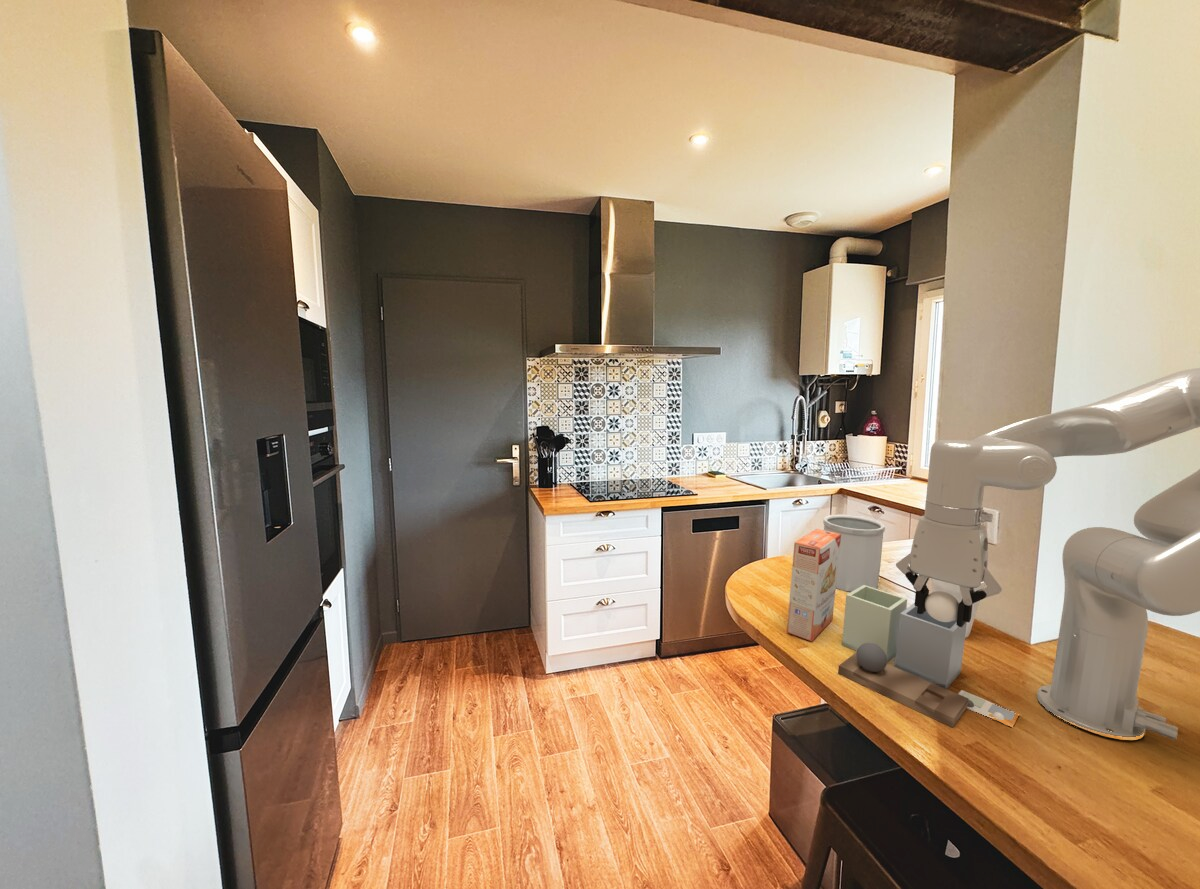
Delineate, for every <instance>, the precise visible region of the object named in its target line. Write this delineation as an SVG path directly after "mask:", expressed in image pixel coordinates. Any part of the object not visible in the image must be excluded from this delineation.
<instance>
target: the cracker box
mask: <svg viewBox="0 0 1200 889" xmlns="http://www.w3.org/2000/svg"><path fill="white" fill-rule="evenodd" d="M840 541H841V534H838V533H835V532H830V531H824V529H819V528H816V529H814V530H812V531H810V532H809V533H807V534H806V535H804V536H802V537H800V538H798V539H797V540H795V541H794V543H793V556H792V567H791V577H790V578H791V579H790V590H789V601H788V612H787V613H788V614H787V623H786V624H787V626H786V633H788V634H790V635H792V636H795V637H799V638H801V639H804V640H806V641H809V642H811V643H812V642H814V640H815V639H816V638H817V637H818V636H819V634H821V632H822V631H823V630H824V629H825V628H826V627H827V626H828V625H829V624H830V623H831V622H832V621H833V618H834V609H835V608H834V606H835V598H836V589H837V588H836V581H837V570H838V560H839V551H840Z"/></svg>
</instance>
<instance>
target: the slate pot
mask: <svg viewBox="0 0 1200 889" xmlns="http://www.w3.org/2000/svg"><path fill="white" fill-rule="evenodd" d="M917 608H918V607H917V606H915V602H914V603H912V604H911V605H910V606H909V607H906V610H904V611H903V612H902V613H900V620H899V630H898V640H897V649H896V655H895V661H894V667H896V668H898V669H901V670H903V671H905V672H908V673H910V674H912V675H915V676H917V677H919V678H922V679H924V680H926V681H929V682H931V683H933V684H936V685H938V686H940V687H943V688H945V689H948V688H949V687H950V686H951V684H952V683H953V682H954V681H955V680H956V679H957V677H958V676H959V675H960V674H961V672H962V666H963V665H962V664H963V655H964V647H965V640H966V638H965V633H966V625H967V622H966V623H965V624H964V625H963V627H959V626H958V625H956V624H957V619H955V620H954V621H951V622H941V621H938V620H936V619H934V618H932V617H931V616H930V615H929V614H928V612H927V611H925V612H924V613H923V614H918V613H917Z"/></svg>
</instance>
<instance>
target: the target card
mask: <svg viewBox="0 0 1200 889" xmlns="http://www.w3.org/2000/svg"><path fill="white" fill-rule="evenodd" d="M958 694H959V695H962V696H964V697H966V698H969V700H968V706H967V709H966V710H969V711H972V712H974V713H976V712H977V713H976V714H978V713H979V714H978V715H980V714H982V715H981V716H983V715H984V717H985V716H987V717H990V718H996V719H998V720H1004V718H1005V719H1007V720H1010V721H1011V720H1012V719H1013V717H1014V715H1015V714H1016V713H1017V712H1016V713H1014V712H1015V711H1013V710H1011V711H1009V710H1010V709H1008V708H1006V709H1004V708H1005V707H1004V708H1002V707H1003V706H1001V705H999V706H997V705H998V704H996V703H993V702H992V701H989V700H987V699H984V698H982V697H980V696H977V695H975V694H973V693H970V692H967V691H966V690H964V689H963V690H962V689H961V690H960V691H959V692H958ZM995 704H996V705H995ZM1000 706H1001V707H1000ZM1007 709H1008V710H1007ZM989 714H993V716H994V717H991V716H989ZM987 717H986V718H987ZM990 718H989V719H990Z"/></svg>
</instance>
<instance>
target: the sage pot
mask: <svg viewBox="0 0 1200 889" xmlns="http://www.w3.org/2000/svg"><path fill="white" fill-rule="evenodd" d="M844 604H845V606H844V618H843V626H842V640H841V646H843V647H845V648H848V649H851V650H853V651H855V652H857V649H858V648H859V647H860V646H861V645H862V644H865V643H873V644H876V645H878V646H879V647H880V648H882V649H883V651H884V652H885V654H886V656H887V663H888V662H889V661H890V660H892V658H894V657H896V649H897V640H898V630H899V620H900V613H902V612H903V611H904V610H906V609H907V608H908V607H907V605H908V598H906V597H904V596H900V595H897V594H895V593H892V592H888V591H885V590H882V589H878V588H877V589H876V588H872V587H869V586H866V585H863V586H861V587H859V588H857V589H856V590H854V591H852V592H848V593H847V594H846V595H845V603H844Z"/></svg>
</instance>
